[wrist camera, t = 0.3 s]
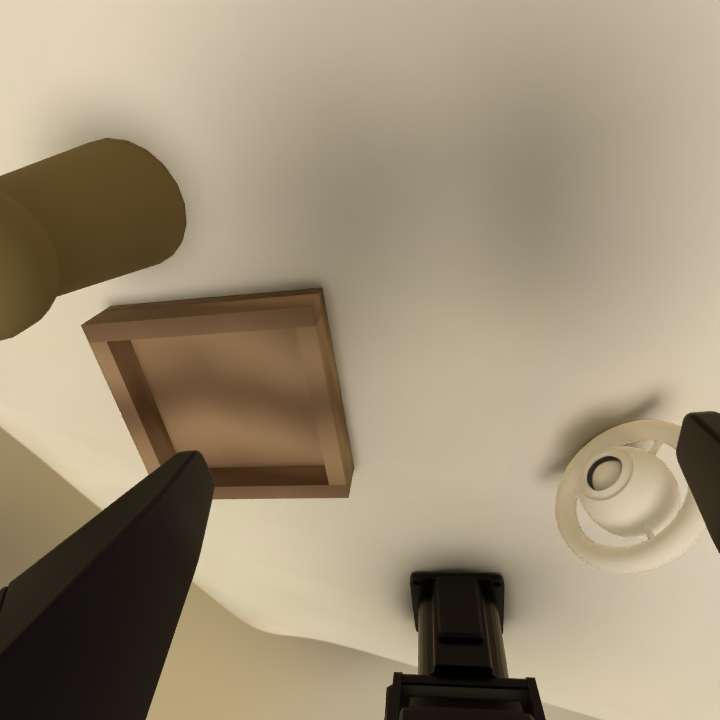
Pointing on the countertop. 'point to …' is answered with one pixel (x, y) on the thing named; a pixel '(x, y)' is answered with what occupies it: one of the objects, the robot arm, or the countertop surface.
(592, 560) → the ring around a ball
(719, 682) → the countertop surface
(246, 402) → the walnut tray
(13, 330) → the cork
